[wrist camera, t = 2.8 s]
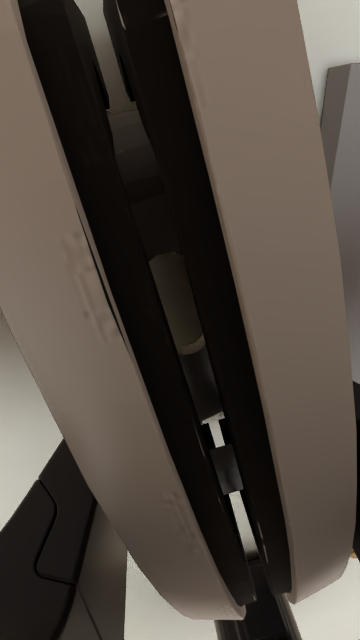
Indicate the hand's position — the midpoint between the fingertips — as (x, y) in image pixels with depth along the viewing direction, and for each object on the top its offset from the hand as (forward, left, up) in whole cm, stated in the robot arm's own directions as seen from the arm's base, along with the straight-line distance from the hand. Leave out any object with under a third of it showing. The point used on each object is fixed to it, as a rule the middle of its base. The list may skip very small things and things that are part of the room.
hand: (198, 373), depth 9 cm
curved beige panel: (0, -1, -6) cm, 6 cm away
